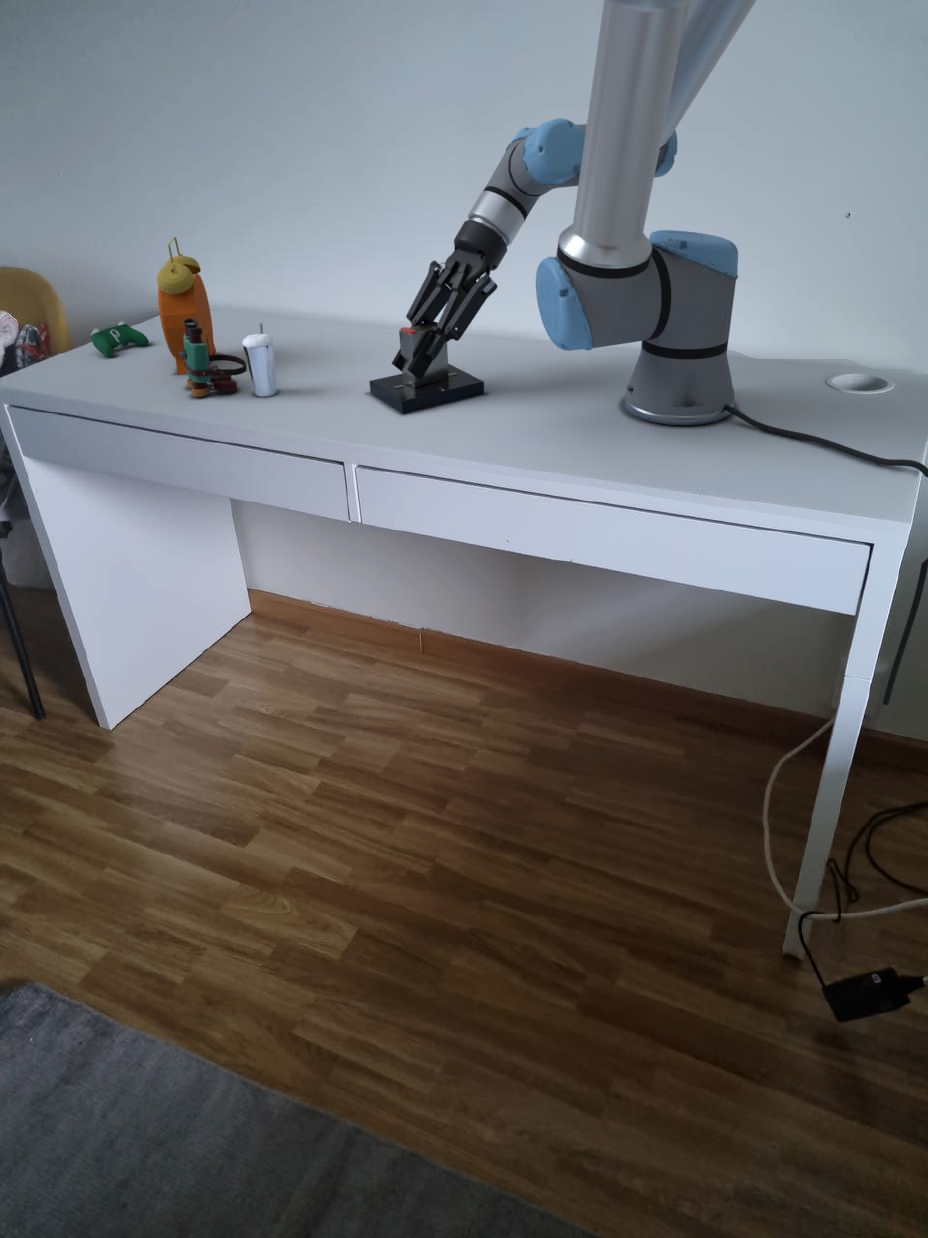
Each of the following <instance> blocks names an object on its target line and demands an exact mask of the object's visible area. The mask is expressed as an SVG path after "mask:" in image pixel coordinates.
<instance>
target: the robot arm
mask: <svg viewBox="0 0 928 1238" xmlns="http://www.w3.org/2000/svg"><path fill="white" fill-rule="evenodd" d="M756 2H757V0H603V5H602V11H601V20H600V26H599V33H598V40H597V46H596V47H597V48H596V54H595V55H596V56H595V61H594V62H595V63H594V69H593V77H592V84H591V90H590V91H591V92H590V99H589V104H588V105H589V106H588V113H587V120H586V123H584V124H581V123H580V124H577V123H574V122H573V121H572V120H569V119H566V118H561V117H560V118H554V119H551V120H548V121H546V122H543V123H541V124H540V125H539V126H537V127H527V126H525V127H522V128H521V129H519V131H518V132H517V133H516V135H515V136H514V138H513V139H512V140H511V142H510V143H508V145H507V146H506V148H505V152H504V153H503V155H502V157H501V159H500V161H499V163H498V164H497V166H496V168H495V170H494V171H493V173H492V175H491V177H490V178H489V180H488V182H487V184H486V185H485V187H484V189H483V190H482V192H481V193H479V196H478V198H477V199H476V201H475V203H474V204H473V206H472V207H471V209H470V211H469V213H468V214H467V220H465V221H464V222H463V224H462V225H461V227H460V229H459V230H458V232H457V234H456V235H455V237H454V239H453V247H454V249H453V252H452V253H451V254H450V255H449V256H448V257H447V258H446V259H445V261H444V262H441V263H438V261H436V260H432V261H431V262H430V264H429V267H428V271H427V274H426V277H425V279H424V280H423V282H422V284H421V286H420V288H419V290H418V292H417V294H416V296H415V298H414V300H413V301H412V303H411V306H410V308H409V309H408V311H407V314H406V315H405V318H406V319H407V320H408V321H409V323H410V325H411V326H410V327H414V326H418V325H422V324H426V323H430V322H434V321H435V320H436V319H437V318H438V316H439V315H440V313H441V312H442V314H441V316H440V318H439V320H438V324H437V327H433V326H432V330H433V331H434V332H435V333H436V334H434V333H433V332H431V331H429V333H428V335H427V336H426V338H425V340H424V341H423V343H422V345H421V347H420V348H419V350H418V352H417V353H416V355H415V357H414V358H413V360H412V362H411V363H410V365H409V367H408V369H407V370H408V371H409V372H410V373H412V374H413V375H414V376H415V377H416V378H418V379H420V380H422V378H423V376H424V374H425V373H426V371H427V369H428V368H429V366H430V364H431V363H432V361H433V359H434V360H435V358H436V357H437V356H438V354H439V353H440V351H441V349H442V348H443V346H444V344H445V343H446V342H447V343H448V342H450V341H451V340H454V341H456V342H458V341H459V340H461V339H462V337H463V335H464V334H465V332H466V331H467V329H468V328H469V326H470V325H471V323H472V322H473V320H474V319H475V317H476V316H477V314H478V313H479V312H480V310H481V308H482V307H483V305H484V303H486V301H487V299H488V298H489V297H490V296H491V295H493V293H495V291H496V290H497V289H498V284H497V283H496V282H495V281H494V280H493V278H492V277H491V276H490V275H491V272H494V271H496V270H497V269H498V268H499V266H500V264H501V263H502V261H503V259H504V257H505V256H506V254H507V253H508V247H510V246H511V245H512V243H513V242H514V240H515V238H516V237H517V235H518V233H519V232H520V230H521V228H522V226H523V225H524V223H525V222H526V219H527V218H528V216H529V215H530V213H531V211H532V210H533V208H534V207H535V205H536V203H537V202H538V200H539V199H540V197H542V196H544V195H545V194H547V193H549V192H550V191H552V190H555V189H561V188H571V187H572V188H573V187H577V191H576V200H575V205H574V206H575V207H574V215H573V222H572V224H570V225H569V226H567V227H566V228H565V229H563V231H561V233H560V234H559V235H558V241H557V248H556V254H555V256H547V257H546V258H543V259H542V260H541V261H540V263H539V264H538V266H537V269H536V274H535V294H536V302H537V307H538V311H539V315H540V319H541V323H542V325H543V328H544V330H545V332H546V334H547V336H548V338H549V339H550V341H551V342H552V343H553V344H554V345H555V346H556V347H557V348H558V349H560V350H563V351H566V352H567V351H568V352H570V351H579V350H585V351H591V350H592V349H597V348H598V349H599V348H604V347H610V346H617V345H624V344H630V343H638V342H641V348H640V353H639V356H638V359H637V361H636V363H635V366H634V368H633V372H632V373H631V377H630V379H629V381H628V384H627V386H626V388H625V389H626V390H625V394H624V408H625V410H626V411H627V412H629V413H630V414H631V415H632V416H634V417H636V418H639V419H640V420H644V421H647V422H652V423H656V424H662V425H670V426H671V425H672V426H698V425H699V426H700V425H705V424H711V423H714V422H718V421H721V420H723V419H725V418H728V416H730V415H733V416H735V417H737V418H739V419H741V420H742V421H744V422H745V423H747V424H749V425H750V426H752V427H754V428H756V429H760V430H762V431H765V432H768V433H772V434H776V435H779V436H784V437H789V438H794V439H799V440H804V441H806V442H807V441H808V442H811V443H815V444H818V445H822V446H825V447H828V448H831V449H833V450H836V451H839V452H841V453H845V454H848V455H850V456H852V457H855V458H859V459H861V460H864V461H867V462H871V463H874V464H878V465H881V466H890V467H911V468H914V469H916V470H918V471H920V472H921V473H922V474H923V475H924V477H925V478H928V467H927V466H926V465H924V464H923V463H921V462H920V461H916V460H913V459H903V458H902V459H899V458H898V459H897V458H895V459H892V458H885V457H884V458H883V457H879V456H877V455H873V454H869V453H867V452H863V451H861V450H857V449H854V448H852V447H849V446H846V445H843V444H840V443H838V442H835V441H832V440H829V439H826V438H822V437H820V436H816V435H813V434H812V435H811V434H809V433H804V432H799V431H793V430H789V429H785V428H779V427H776V426H771V425H769V424H765V423H763V422H760V421H757V420H755V419H753V418H751V417H750V416H748V415H746V414H745V413H743V412H742V411H740V410H738V409H736V408H734V406H735V390H734V389H735V388H734V387H733V386H734V385H733V381H732V379H733V378H732V375H731V369H730V365H729V364H730V363H729V360H728V346H729V339H730V331H731V324H732V317H733V316H732V314H733V307H734V299H735V292H736V285H737V284H736V283H737V280H738V279H739V275H738V271H739V270H738V269H739V250H738V247H737V245H736V244H735V243H734V242H733V241H731V240H730V239H727V238H725V237H722V236H717V235H714V234H709V233H702V232H696V231H695V232H694V231H686V230H674V229H660V230H659V229H658V230H654V231H652V232H651V233H650V234H649V236H648V237H647V235H646V234H645V233H644V231H645V225H646V219H647V216H648V215H647V214H648V209H649V205H650V199H651V195H652V190H653V185H654V180H655V179H656V178H661V177H664V176H665V175H667V174H668V173H669V172H670V171H671V169H672V168H673V167H674V164H675V156H676V155H677V154H678V142H679V141H678V134H677V131H676V128H677V127H678V125H679V124H680V122H681V121H682V119H683V118H684V116H685V115H686V113H687V111H688V110H689V108H690V107H691V105H692V103H693V102H694V100H695V99H696V97H697V96H698V94H699V92H700V91H701V89H702V88H703V86H704V84H705V83H706V81H707V80H708V78H709V76H710V75H711V73H712V72H713V70H714V68H715V67H716V65H717V64H718V63H719V61H720V60H721V57H722V56H723V55H724V53H725V51H726V50H727V48H728V46H729V44H731V42H732V40H733V39H734V37H735V36H736V34H737V32H738V31H739V29H740V27H741V26H742V24H743V23H744V21H745V20H746V18H747V16H748V15H749V13H750V12H751V10H752V8H753V7H754V5H755V4H756ZM391 364H392V365H393V366H394V367H395V368H396V369H397V370H399V371H400V372H401V373H402V361H401V349H400V348H399V350H397V353H396V355H395V356H394V358H393V359H392V362H391ZM927 573H928V557H927V558H926V559H925V560H924V561H922V562H921V563H920V571H919V575H918V579H917V584H916V588H915V592H914V595H913V600H912V603H911V608H910V611H909V614H908V617H907V621H906V623H905V626H904V629H903V633H902V635H901V636H902V637H901V639H900V642H899V645H898V647H897V651H896V655H895V658H894V661H893V664H892V667H891V671H890V674H889V678H888V681H887V684H886V688H885V692H884V696H883V700H882V704H883V705H884V706H889V704H890V701H891V696H892V693H893V688H894V685H895V682H896V680H897V679H896V678H897V675H898V672H899V668H900V665H901V663H902V659H903V656H904V653H905V650H906V647H907V643H908V642H909V641H908V640H909V637H910V635H911V632H912V629H913V626H914V624H915V623H914V622H915V619H916V616H917V613H918V610H919V606H920V603H921V598H922V595H923V591H924V587H925V582H926V578H927Z"/></svg>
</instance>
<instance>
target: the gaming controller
mask: <svg viewBox="0 0 928 1238" xmlns="http://www.w3.org/2000/svg"><path fill="white" fill-rule="evenodd" d="M90 340H91V342H92V345H93V346H94V348H95V349H96V350H98V352H100V353H101V354H102V355H104V356H106V357H109V358H111V357H113V356H114V351H113V350H115V349H116V348H119V347H126V346H128V345H129V344H134V345H137V346H142V347H146V346H148V345H149V343H150V341H149V339H148V337H147V336H146V335H145V334H144V333H143V332H141V331H139V330H137V329H135V328H133V327H131V326H130V325H128V324H127V323H126V322H125V320H124V319H121V320H120V321H119V322H118V324H117V325H114V326H112V327H107V328H105V329H104V328H103V329H101V330H100V329H99V327H95V328H94V329H93V330H92V332H91V334H90Z"/></svg>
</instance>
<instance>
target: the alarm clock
mask: <svg viewBox="0 0 928 1238" xmlns="http://www.w3.org/2000/svg"><path fill="white" fill-rule="evenodd" d="M173 241H174V243H175V247H176V252H177V255H176V256H173V252H172V248H171V244H172V242H173ZM178 244H179V243H178V240H177V236H173V238H172V239H171V240H170V241H169V242H168V244H167V246H168V253H169V256H170V258H168V259H167V260H166V262H165V264H164V266H162V267H161V268H160V270H159V271H158V272H157V275H156V283H157V287H158V291H157V297H158V298H157V300H158V301H157V303H158V311H159V312H158V313H159V318H160V323H161V329H162V332H163V336H164V340H165V342H166V345H167V349H168V350H169V352H170V354H171V355H172V357H173V358H174V360H175V365H176V373H177V375H188V374H187V372H186V367H185V365H184V360H185V359H184V358H182V357H180V356H179V352H180V351H184V334H185V333H186V329H185V327H184V325H183V320H184V319H187V318H192V319H195V320H197V327H196V328H202V334H201V340H203V341H204V342H205V343H206V344H207V350H208V352H209V355H214V354H218V352H217V348H216V345H215V342H214V330H213V322H212V321H213V320H212V313H211V308H210V302H209V299H208V298H209V297H208V294H207V291H206V287H205V284H204V281H203V279H202V277H201V275H200V273H201V271H202V269H201V266H200V264H199V262H198V261H197V260H196V259H195V258H193V257H191V256H187V255H184V254H182V253H181V252H180V248H179V245H178ZM211 366H212V362H210V368H211Z"/></svg>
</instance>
